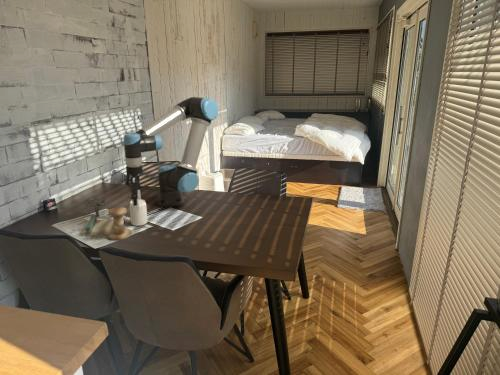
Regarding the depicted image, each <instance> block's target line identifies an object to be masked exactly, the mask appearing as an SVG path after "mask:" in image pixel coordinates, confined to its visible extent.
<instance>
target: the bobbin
mask: <svg viewBox="0 0 500 375" xmlns="http://www.w3.org/2000/svg"><path fill="white" fill-rule="evenodd" d="M107 212H108V214H107V215H108V216H110V217H112V219H113V221H114V230H113V231H111V232H109V234H108V238H109V240H112V241H122V240H126V239H128V238H130V237H131V236H132V230H131V229H130V228H127V227H126V228H125V219H124V220H123V218H124V215H126V214H127V212H128V211H127V208H126V207H123V206H117V207H113V208H109V209H108V210H107Z"/></svg>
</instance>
